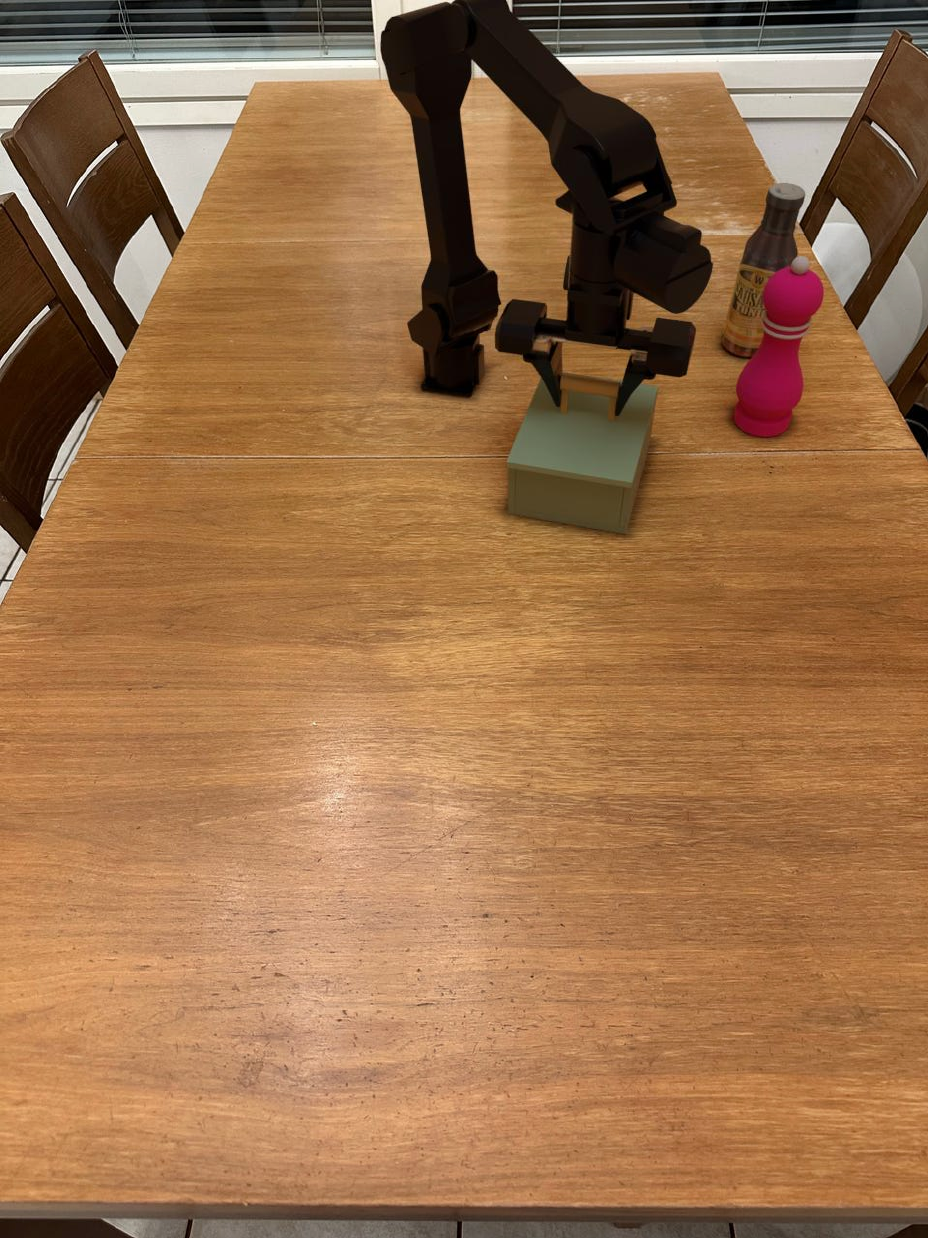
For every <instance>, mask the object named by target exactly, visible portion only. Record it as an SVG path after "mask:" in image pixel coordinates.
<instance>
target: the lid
mask: <svg viewBox="0 0 928 1238" xmlns="http://www.w3.org/2000/svg"><path fill="white" fill-rule="evenodd" d="M622 381H623V380H618V379H612V378H605V377H597V376H591V375H584V374H576V373H569V372H563V374H562V376H561V380H560V390H562V391H561V406H560V407H556V405H555V403H554V401H553V399H552V397H551V395H550V393H549V391H548V389H547V387H546V385H545V383H544V381H543V380H542V378H541V377H540V379H539V381H538V383H537V386H536V388H535V391H534V394H533V395H532V398H531V400H530V403H529V405H528V407H527V410H526V413H525V415H524V417H523V420H522V423H521V425H520V426H519V429H518V432H517V434H516V437H515V440H514V441H513V444H512V447H511V449H510V451H509V454H508V455H507V459H506V461H505V467H506V469H508V468H512V469H518V470H524V471H530V472H536V473H542V474H548V475H554V476H560V477H566V478H572V479H578V480H584V481H590V482H596V483H602V484H608V485H614V486H620V487H625V488H632V485H633V481H634V477H635V474H636V470H637V466H638V463H639V459H640V455H641V451H642V448H643V444H644V440H645V437H646V433H647V429H648V426H649V422H650V418H651V415H652V411H653V407H654V403H655V400H656V401H657V399H656V396H657V397H658V391H659V386H658V385H654V384H646V383H641V384H640V385H639V386H638V387H637V388H636V390H635V391H634V392H633V393H632V394H631V396H630V398H629V399H628V401H627V403H626V405H625V406H624V408H623V410H622V412H621V413H620V415H619V416H615V407H616V403H617V399H618V395H619V392H620V388H621V384H622Z"/></svg>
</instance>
